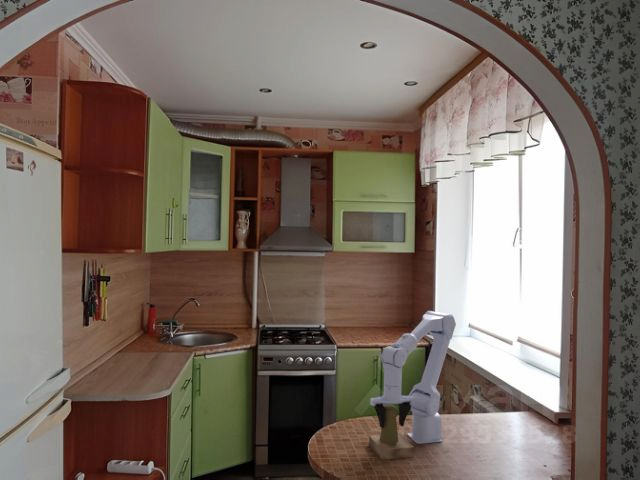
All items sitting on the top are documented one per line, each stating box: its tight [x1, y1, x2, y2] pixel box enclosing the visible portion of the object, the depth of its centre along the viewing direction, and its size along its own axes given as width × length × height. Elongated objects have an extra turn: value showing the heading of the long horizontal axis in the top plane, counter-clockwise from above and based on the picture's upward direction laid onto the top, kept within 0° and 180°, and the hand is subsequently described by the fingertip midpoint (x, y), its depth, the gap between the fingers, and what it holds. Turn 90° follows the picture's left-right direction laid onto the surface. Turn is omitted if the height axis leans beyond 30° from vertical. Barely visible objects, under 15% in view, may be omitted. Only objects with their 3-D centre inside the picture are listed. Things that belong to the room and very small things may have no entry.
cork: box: [379, 404, 399, 444], centre depth 157 cm, size 6×6×11 cm
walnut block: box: [368, 432, 415, 460], centre depth 156 cm, size 11×11×3 cm
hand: (391, 426), depth 156 cm, fingers open, 6 cm apart
